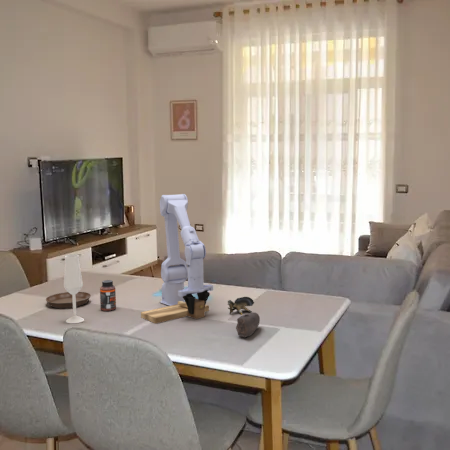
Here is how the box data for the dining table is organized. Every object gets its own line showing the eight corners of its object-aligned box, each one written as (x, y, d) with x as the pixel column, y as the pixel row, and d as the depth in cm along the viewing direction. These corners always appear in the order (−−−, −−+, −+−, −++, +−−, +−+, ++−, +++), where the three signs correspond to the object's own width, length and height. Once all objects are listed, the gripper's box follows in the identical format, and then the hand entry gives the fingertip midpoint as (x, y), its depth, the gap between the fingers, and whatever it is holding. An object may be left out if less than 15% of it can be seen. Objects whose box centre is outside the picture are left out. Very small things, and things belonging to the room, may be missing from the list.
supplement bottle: (112, 311, 215) (111, 283, 214) (98, 311, 216) (96, 282, 215) (118, 307, 221) (117, 279, 220) (104, 307, 222) (103, 279, 221)
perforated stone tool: (251, 326, 195) (251, 306, 195) (265, 327, 193) (265, 308, 192) (232, 339, 182) (231, 318, 181) (246, 341, 180) (246, 320, 179)
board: (141, 317, 207) (140, 312, 207) (193, 305, 222) (193, 300, 222) (155, 323, 200) (155, 318, 199) (209, 310, 215) (209, 305, 214)
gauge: (175, 311, 214) (174, 296, 213) (183, 309, 216) (183, 294, 216) (198, 319, 204) (197, 303, 203) (206, 317, 206) (206, 301, 205)
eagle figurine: (235, 315, 205) (257, 307, 208) (228, 297, 207) (249, 290, 210) (230, 321, 211) (251, 313, 215) (223, 303, 214) (244, 296, 217)
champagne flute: (65, 324, 201) (62, 258, 198) (65, 318, 207) (62, 254, 204) (85, 322, 203) (81, 256, 199) (84, 317, 209) (81, 253, 206)
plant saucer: (36, 308, 223) (36, 300, 222) (62, 297, 239) (62, 290, 239) (75, 311, 217) (75, 303, 217) (99, 299, 234) (98, 292, 234)
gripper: (185, 281, 198) (186, 318, 200) (217, 275, 207) (218, 310, 209) (174, 277, 203) (175, 314, 205) (206, 272, 212) (207, 306, 214)
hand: (196, 312), depth 207 cm, fingers closed on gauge, 4 cm apart
